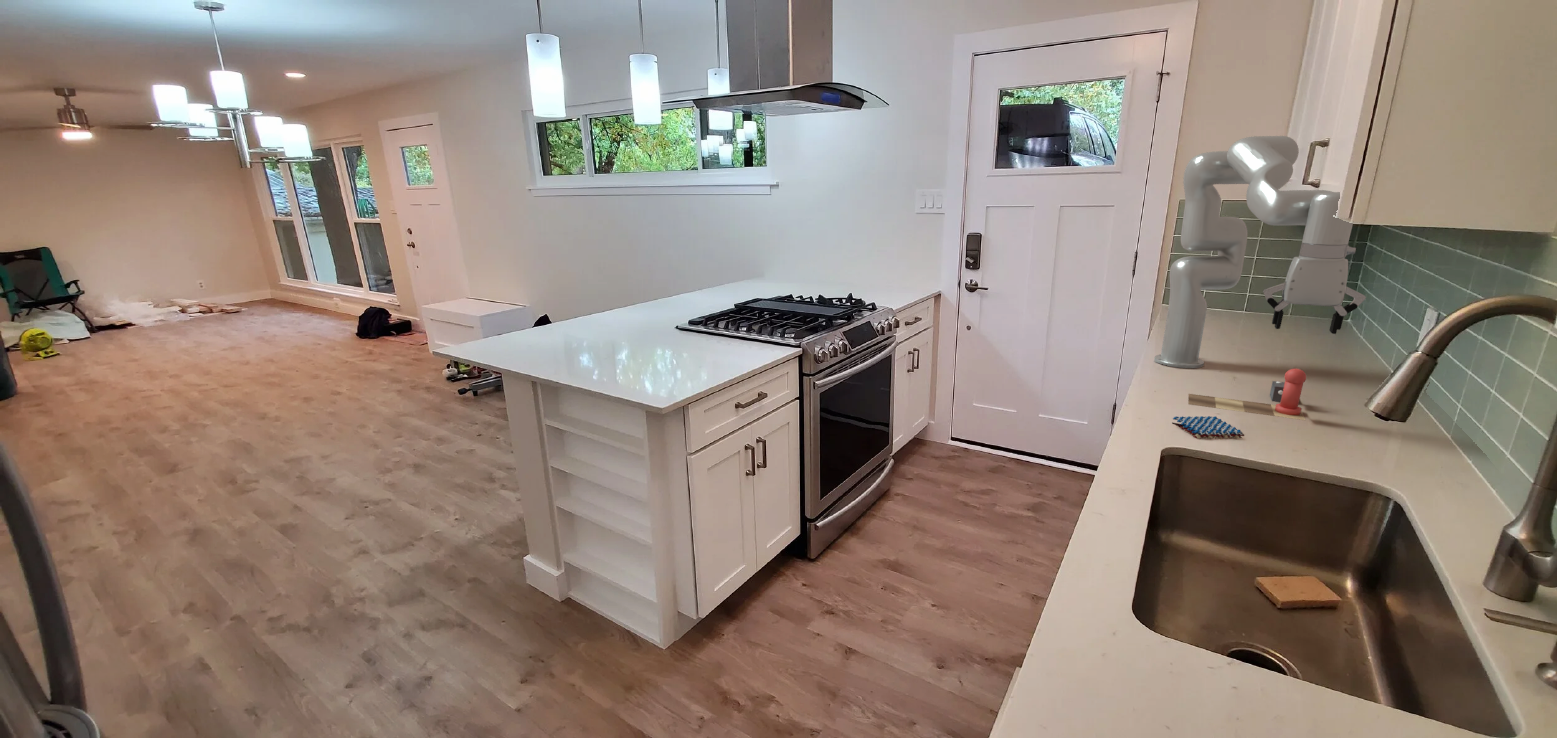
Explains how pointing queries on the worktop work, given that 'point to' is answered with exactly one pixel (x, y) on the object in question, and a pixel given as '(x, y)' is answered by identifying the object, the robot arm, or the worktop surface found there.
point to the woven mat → (1207, 427)
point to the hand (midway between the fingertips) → (1304, 330)
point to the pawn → (1291, 392)
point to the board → (1238, 406)
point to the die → (1277, 391)
